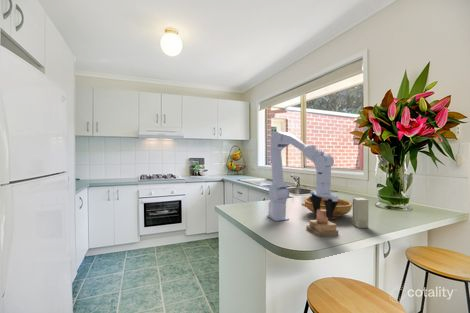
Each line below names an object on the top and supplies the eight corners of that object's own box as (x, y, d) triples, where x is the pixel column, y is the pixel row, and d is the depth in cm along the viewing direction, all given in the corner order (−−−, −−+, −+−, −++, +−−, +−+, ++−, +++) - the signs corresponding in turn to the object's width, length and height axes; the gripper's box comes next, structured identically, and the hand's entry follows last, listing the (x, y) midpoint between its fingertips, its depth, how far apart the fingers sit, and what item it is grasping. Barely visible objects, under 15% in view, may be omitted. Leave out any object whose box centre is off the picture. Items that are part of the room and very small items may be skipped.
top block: (309, 226, 96) (309, 220, 96) (323, 224, 98) (323, 219, 98) (320, 231, 89) (321, 225, 89) (336, 230, 91) (336, 224, 91)
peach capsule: (314, 220, 95) (314, 209, 95) (323, 220, 97) (323, 208, 97) (320, 223, 91) (321, 211, 91) (329, 223, 92) (330, 211, 92)
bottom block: (306, 231, 97) (306, 225, 97) (323, 229, 100) (323, 223, 100) (320, 238, 88) (320, 232, 88) (338, 236, 91) (338, 230, 91)
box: (362, 224, 104) (363, 197, 104) (368, 228, 100) (369, 199, 100) (351, 224, 104) (352, 197, 104) (357, 228, 100) (357, 199, 99)
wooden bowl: (315, 224, 104) (316, 207, 104) (291, 211, 128) (291, 197, 128) (368, 220, 111) (368, 204, 111) (335, 208, 134) (336, 195, 134)
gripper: (304, 181, 99) (304, 211, 99) (327, 185, 85) (327, 220, 86) (317, 180, 101) (317, 210, 102) (342, 185, 88) (341, 219, 88)
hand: (322, 214), depth 94 cm, fingers open, 7 cm apart
